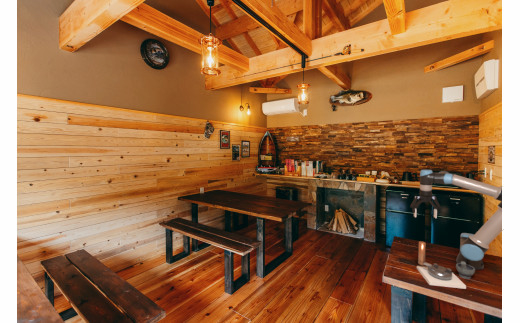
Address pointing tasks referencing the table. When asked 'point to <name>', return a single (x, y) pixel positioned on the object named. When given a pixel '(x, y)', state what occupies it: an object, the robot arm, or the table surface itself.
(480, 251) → the robot arm
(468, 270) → the mortar and pestle
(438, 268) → the crank handle
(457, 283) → the base plate
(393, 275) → the table surface
